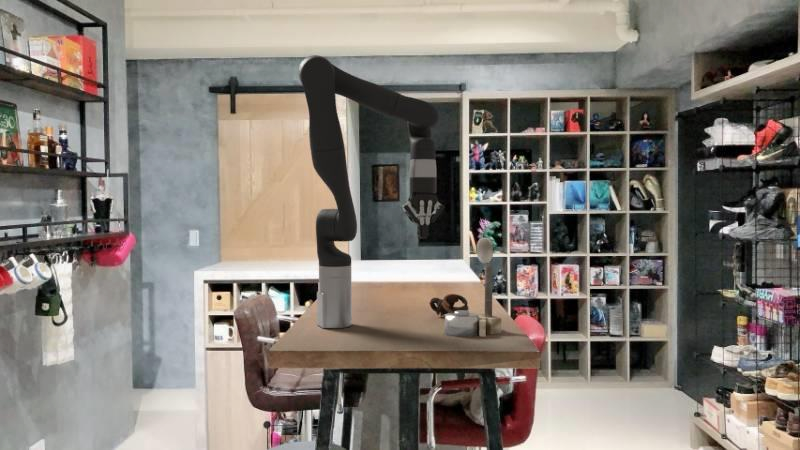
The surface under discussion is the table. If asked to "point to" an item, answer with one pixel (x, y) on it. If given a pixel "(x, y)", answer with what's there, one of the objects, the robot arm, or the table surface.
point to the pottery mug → (448, 304)
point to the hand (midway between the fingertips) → (423, 238)
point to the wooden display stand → (487, 290)
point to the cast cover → (461, 324)
